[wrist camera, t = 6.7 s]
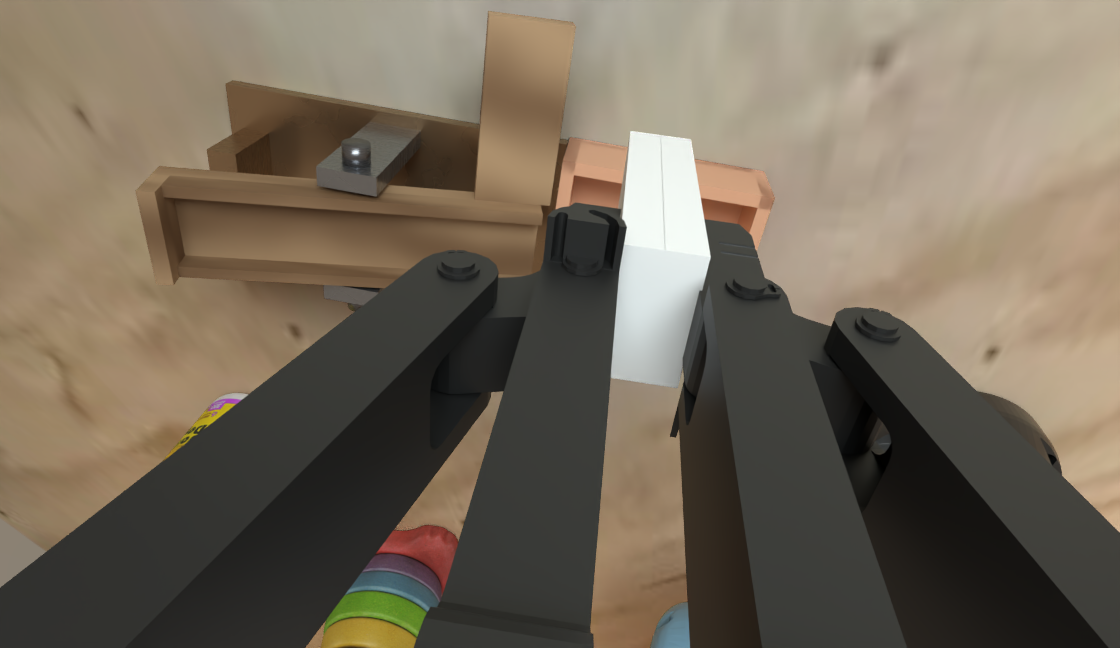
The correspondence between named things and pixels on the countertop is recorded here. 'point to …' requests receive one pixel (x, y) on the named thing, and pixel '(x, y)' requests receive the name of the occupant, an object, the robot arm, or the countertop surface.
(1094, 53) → the countertop surface
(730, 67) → the countertop surface
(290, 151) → the lever stand
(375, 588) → the stacking bear
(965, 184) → the countertop surface
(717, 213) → the dish
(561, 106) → the lever
